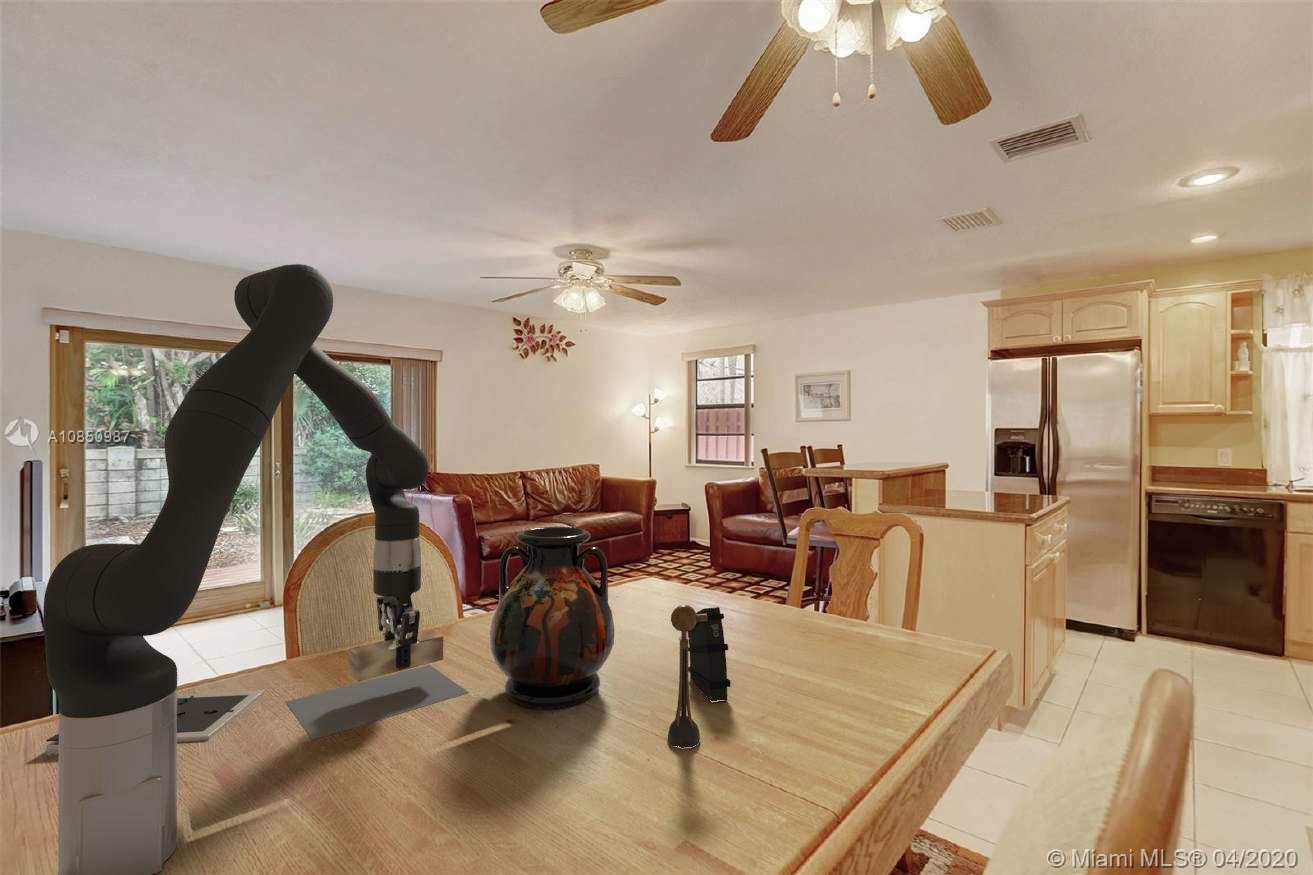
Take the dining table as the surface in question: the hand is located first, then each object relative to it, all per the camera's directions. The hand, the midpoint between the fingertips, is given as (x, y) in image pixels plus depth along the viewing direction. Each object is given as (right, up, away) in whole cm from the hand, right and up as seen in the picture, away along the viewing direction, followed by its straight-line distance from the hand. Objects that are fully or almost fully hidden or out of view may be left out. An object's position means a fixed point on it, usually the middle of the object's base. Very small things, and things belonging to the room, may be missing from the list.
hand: (397, 662), depth 104 cm
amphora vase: (+26, -6, +2) cm, 27 cm away
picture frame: (-31, -7, -10) cm, 34 cm away
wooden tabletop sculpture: (+49, -6, -15) cm, 52 cm away
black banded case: (+53, -6, +4) cm, 54 cm away
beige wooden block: (0, -1, 0) cm, 1 cm away
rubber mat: (-2, -6, -2) cm, 7 cm away
